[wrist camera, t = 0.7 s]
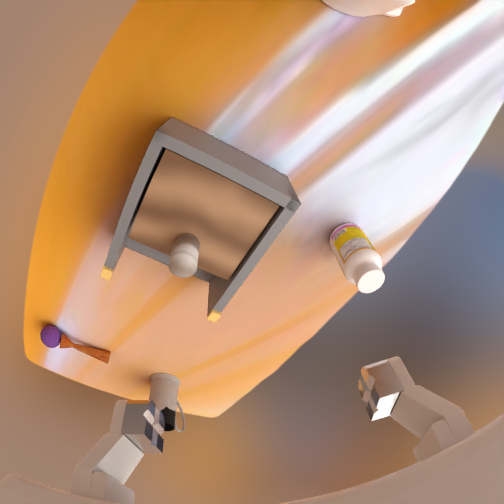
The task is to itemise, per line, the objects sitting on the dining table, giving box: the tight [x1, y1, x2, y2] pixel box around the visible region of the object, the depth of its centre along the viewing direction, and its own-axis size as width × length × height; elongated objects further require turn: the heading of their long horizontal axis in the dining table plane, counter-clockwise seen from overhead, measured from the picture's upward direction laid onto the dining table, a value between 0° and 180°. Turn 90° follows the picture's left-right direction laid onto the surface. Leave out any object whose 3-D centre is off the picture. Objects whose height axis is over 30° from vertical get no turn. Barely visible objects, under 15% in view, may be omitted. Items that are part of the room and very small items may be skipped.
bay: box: [101, 117, 301, 323], centre depth 43 cm, size 24×20×11 cm
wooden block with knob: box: [128, 148, 280, 280], centre depth 40 cm, size 14×16×13 cm
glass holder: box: [149, 373, 185, 432], centre depth 72 cm, size 9×14×15 cm, turn 28°
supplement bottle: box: [330, 223, 385, 293], centre depth 48 cm, size 7×7×13 cm
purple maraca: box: [40, 325, 110, 364], centre depth 64 cm, size 6×6×20 cm
